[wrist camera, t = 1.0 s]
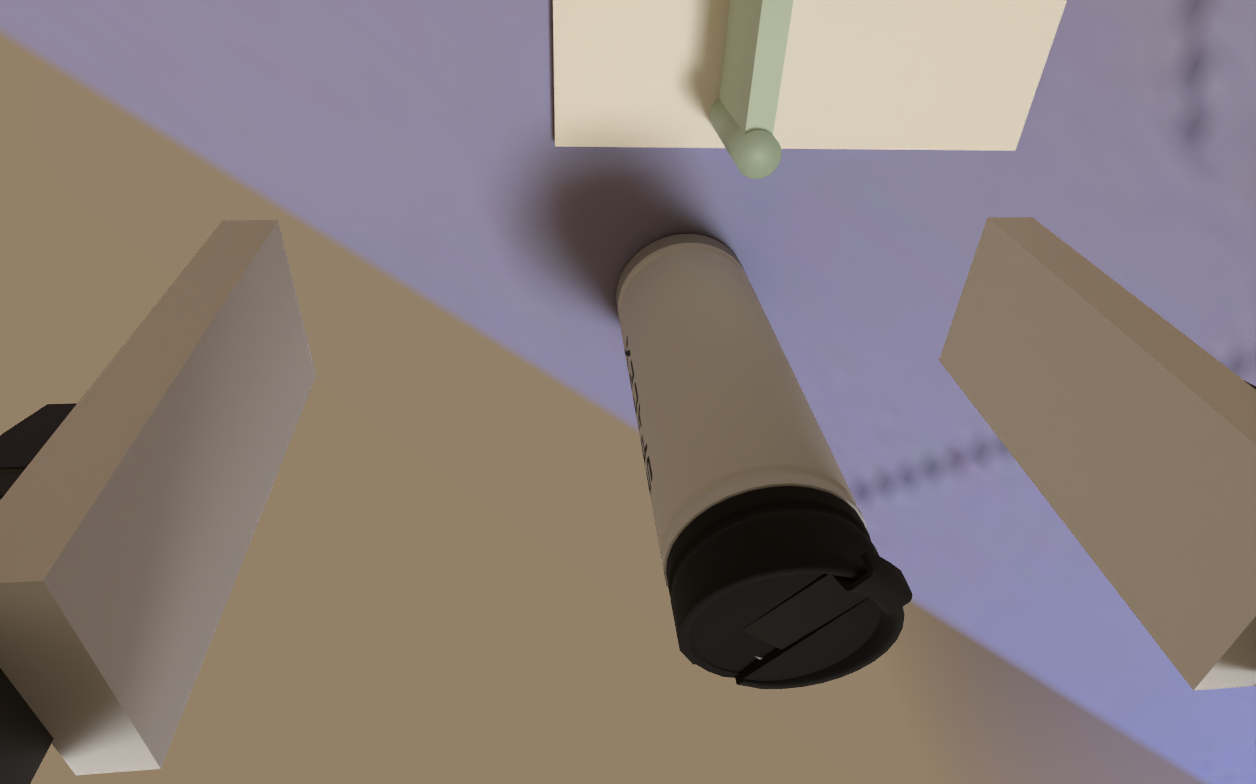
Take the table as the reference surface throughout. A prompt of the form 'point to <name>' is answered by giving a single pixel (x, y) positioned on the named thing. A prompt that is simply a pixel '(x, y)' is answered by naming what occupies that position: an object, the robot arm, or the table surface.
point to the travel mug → (745, 482)
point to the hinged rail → (752, 83)
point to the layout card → (805, 72)
